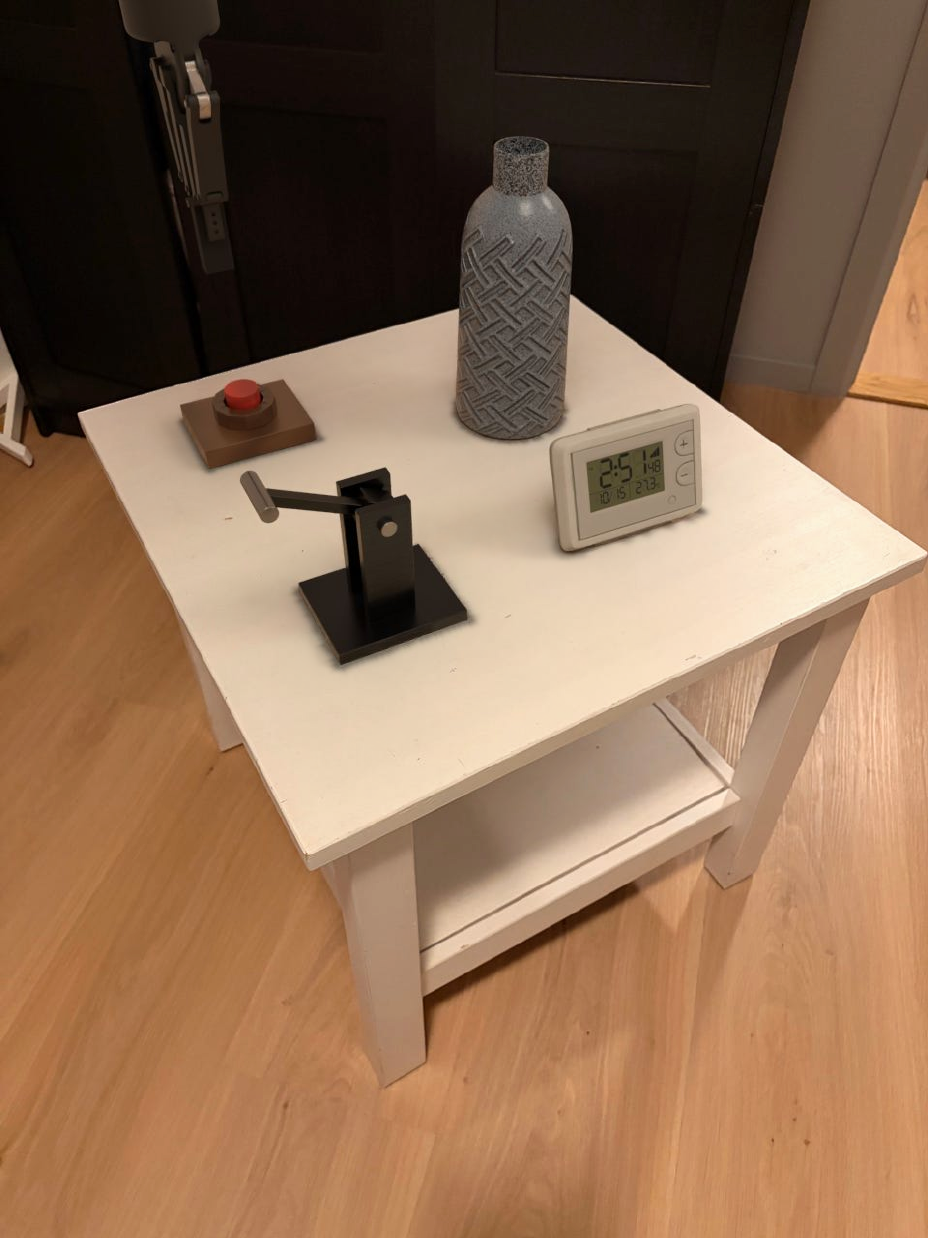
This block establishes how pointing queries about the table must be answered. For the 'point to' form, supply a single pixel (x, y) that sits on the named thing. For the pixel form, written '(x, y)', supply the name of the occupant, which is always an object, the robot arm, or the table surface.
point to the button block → (247, 425)
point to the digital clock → (626, 476)
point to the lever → (304, 499)
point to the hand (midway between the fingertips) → (218, 268)
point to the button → (242, 394)
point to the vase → (514, 298)
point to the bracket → (379, 579)
